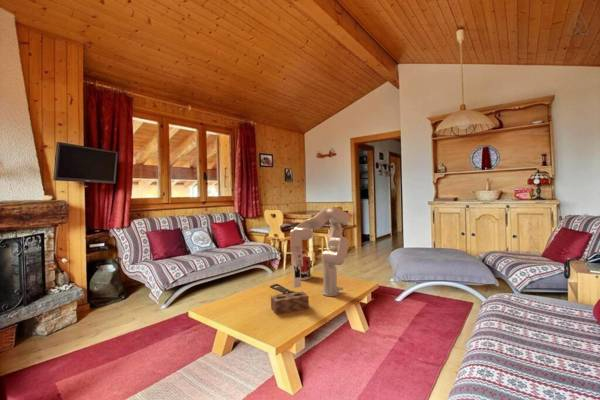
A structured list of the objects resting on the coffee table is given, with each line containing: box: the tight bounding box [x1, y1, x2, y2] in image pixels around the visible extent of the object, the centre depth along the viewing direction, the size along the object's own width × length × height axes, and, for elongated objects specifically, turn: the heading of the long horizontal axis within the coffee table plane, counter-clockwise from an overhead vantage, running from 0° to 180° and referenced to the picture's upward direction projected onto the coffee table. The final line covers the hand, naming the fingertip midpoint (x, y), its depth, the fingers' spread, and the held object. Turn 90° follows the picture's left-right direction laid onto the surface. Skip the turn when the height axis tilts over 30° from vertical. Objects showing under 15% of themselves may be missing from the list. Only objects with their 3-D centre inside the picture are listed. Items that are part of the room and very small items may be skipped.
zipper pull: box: [269, 283, 296, 295], centre depth 215 cm, size 9×7×25 cm
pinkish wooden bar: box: [292, 267, 302, 289], centre depth 195 cm, size 4×2×12 cm, turn 111°
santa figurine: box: [301, 249, 313, 281], centre depth 262 cm, size 17×14×25 cm
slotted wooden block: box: [270, 291, 310, 315], centre depth 194 cm, size 22×10×8 cm, turn 111°
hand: (297, 276), depth 195 cm, fingers closed on pinkish wooden bar, 1 cm apart
